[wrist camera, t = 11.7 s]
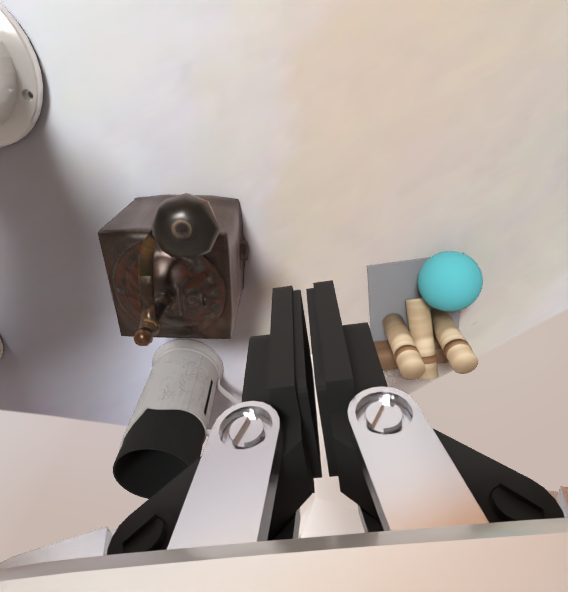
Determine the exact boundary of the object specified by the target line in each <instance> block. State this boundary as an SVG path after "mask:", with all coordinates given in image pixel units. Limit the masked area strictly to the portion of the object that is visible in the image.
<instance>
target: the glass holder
mask: <svg viewBox="0 0 568 592" xmlns="http://www.w3.org/2000/svg"><path fill="white" fill-rule="evenodd" d="M152 367H153V368H152V371H151V373H150V375H149V378H148V380H147V382H146V385H145V387H144V390H143V392H142V394H141V397H140V399H139V401H138V404H137V406H136V408H135V411H134V413H133V415H132V418H131V420H130V422H129V425H128V427H127V429H126V432H125V434H124V436H123V439H122V442H121V446H120V451H119V453H118V456H117V458H116V461H115V463H114V466H113V474H114V477H115V479H116V481H117V482H118V483H119V484H120V485H121V486H122V487H123V488H124V489H126V490H127V491H129V492H131V493H133V494H135V495H137V496H140V497H144V498H148V499H150V498H151V497H152V496H153V495H155V494H156V493H157V492H158V491H160V490H161V489H162V488H163V487H164V486H166V485H167V484H168V483H169V482H170V481H172V480H173V479H174V478H175V477H177V476H178V475H179V474H180V473H181V472H183V471H184V470H185V469H186V468H187V467H189V466H190V465H191V464H192V463H194V462H195V461H196V460H197V459H198V458H200V455H201V450H202V445H203V443H204V441H205V439H206V435H210V433H211V430H212V429H208V425H209V420H210V415H211V411H212V406H213V401H214V396H215V391H216V387H217V389H218V390H219V391H220V392H221V393H222V394H223V395H224V396H225V397H226V398H228V399H229V400H230V401H232V402H233V403H234V404H239V403H241V402H240V401H239V400H238V399H237V398H235V397H234V396H233V395H231V394H230V393H229V392H227V391H226V390H225V389H224V388H223V387H222V386H221V385H220V380H221V378H222V376H223V364H222V361H221V359H220V357H219V356H218V354H217V353H216V352H215V351H214V350H213V349H212V348H210V347H209V346H207V345H205V344H203V343H201V342H198V341H194V340H189V339H179V340H173V341H170V342H167V343H165V344H164V345H162V346H161V347H160V348H159V349H158V350H157V351H156V352H155V354H154V357H153V360H152Z"/></svg>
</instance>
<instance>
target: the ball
mask: <svg viewBox="0 0 568 592" xmlns="http://www.w3.org/2000/svg"><path fill="white" fill-rule="evenodd" d="M482 285H483V278H482V273H481V270H480V268H479V266H478V265H477V263H476V262H475V261H474V260H473V259H472V258H470V257H469V256H467V255H465V254H463V253H460V252H455V251H447V252H441V253H438V254H436V255H434V256H432V257H431V258H429V259H428V260H427V261H426V262H425V263H424V264H423V266H422V268H421V270H420V272H419V275H418V288H419V292H420V294H421V296H422V298H423V299H424V300H425V301H426V302H427V303H428V304H429V305H430V306H432V307H434V308H436V309H438V310H442V311H458V310H461V309H464V308H466V307H468V306H469V305H471V304H472V303H473V302H474V301H475V300H476V299H477V297H478V296H479V294H480V292H481V289H482Z"/></svg>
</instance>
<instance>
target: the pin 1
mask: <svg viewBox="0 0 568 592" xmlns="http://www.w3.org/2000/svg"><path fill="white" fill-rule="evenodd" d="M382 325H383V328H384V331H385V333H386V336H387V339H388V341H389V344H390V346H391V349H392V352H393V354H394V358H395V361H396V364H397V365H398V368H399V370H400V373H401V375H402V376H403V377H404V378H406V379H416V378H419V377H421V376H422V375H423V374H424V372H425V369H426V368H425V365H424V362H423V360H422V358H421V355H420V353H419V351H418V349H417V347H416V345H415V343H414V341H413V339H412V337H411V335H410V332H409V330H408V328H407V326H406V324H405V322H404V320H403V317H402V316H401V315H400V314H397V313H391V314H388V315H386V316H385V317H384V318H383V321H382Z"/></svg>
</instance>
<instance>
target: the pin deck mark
mask: <svg viewBox="0 0 568 592" xmlns="http://www.w3.org/2000/svg"><path fill="white" fill-rule="evenodd" d="M463 254H464V253H463ZM429 258H431V257H429ZM429 258H422V259H414V260H407V261H400V262H392V263H385V264H377V265H370V266H367V273H368V291H369V309H370V326H371V335H372V338H373V341H374V342H375V341H383V340H388V339H387V336H386V333H385V331H384V328H383V325H382V321H383V318H384V317H385V316H386V315H388V314H391V313H397V314H400V315H401V316H402V317H403V320H404V322H405V324H406V326H407V328H408V330H409V325H408V317H407V309H406V301H405V300H407V299H415V298H422V296H421V294H420V292H419V288H418V275H419V272H420V270H421V268H422V266H423V264H424V263H425V262H426V261H427V260H428V259H429ZM432 309H434V307H432V306H430V311H431V310H432ZM447 312H448V314H449V315H450V317H451V318H452V320H453V321H454V323H455V325H456V326H457V328H458V329H459V316H460V310H458V311H447ZM433 334H434V333H433Z"/></svg>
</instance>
